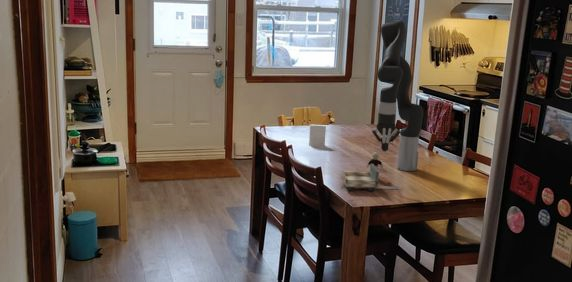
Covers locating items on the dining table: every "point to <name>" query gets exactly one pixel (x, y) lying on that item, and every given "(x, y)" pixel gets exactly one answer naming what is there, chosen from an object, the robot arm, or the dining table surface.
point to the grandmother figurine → (375, 160)
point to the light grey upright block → (317, 136)
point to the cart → (361, 179)
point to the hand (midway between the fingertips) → (384, 150)
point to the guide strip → (375, 187)
